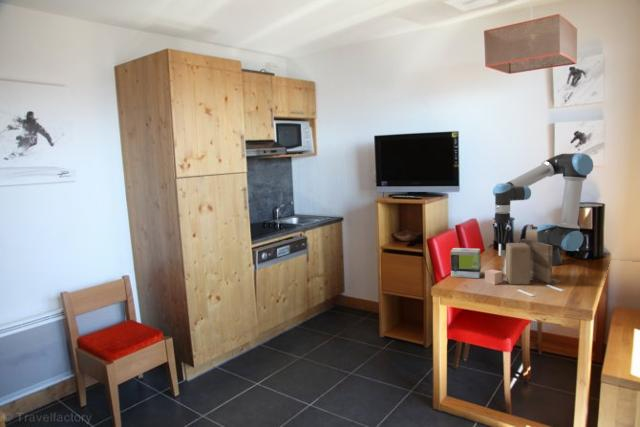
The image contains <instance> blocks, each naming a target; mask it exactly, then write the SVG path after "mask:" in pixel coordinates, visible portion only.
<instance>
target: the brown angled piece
mask: <svg viewBox="0 0 640 427" xmlns="http://www.w3.org/2000/svg"><path fill="white" fill-rule="evenodd" d="M519 243H526V244H527V245H528V246H530V280H532V279H533V281H535V282H539V283H542V284H543V285H555V284H560V283H561V280H559V279H556V278H553V265H552V247H553V246H552V245H548V244H544V243H539V242H537V241H534V240H532V239H531V240H530V239H527V238H520V239H519Z"/></svg>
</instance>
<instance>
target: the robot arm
mask: <svg viewBox="0 0 640 427" xmlns="http://www.w3.org/2000/svg"><path fill="white" fill-rule="evenodd" d="M593 170H594V160H593V159H592V157H591V156H590V155H588V154H586V153H580V152H578V153H574V152H573V153H559V154H557V155H555V156H552V157H550V158H548V159H546V160H544V161H542V162H541V164H540V165H538V166H537V167H534V168H533V169H530V170H528V171H526V172H525V173H522V174H520V175H519V176H517V177H515V178H514V179H511V180H509V181H507V182H505V183H496V185H495V186H494V187H493V189H492V194H493V196H494V198H495V199H494V201H495V202H494V203H495V204H494V206H495V208H494V211H495V213H494V219H495V220H496V221H495V223H492V227H493V232H494V238H495V239H494V240H495V242H496V243H498V245H497V247H498V248H497V249H498V256H500V257H501V256H502V257H506V244H507V243H510V237H511V233H512V230H513V226H510V222H509V220H511V202H513V201H527V200H529V199H530V198H531V196H532V190H531V188H530V186H531V185H533V184H536V183H537V182H540V181H541V180H543V179H545V178H547V177H550V178H551V177H553V176H555V175H562V178H563V179H564V189H563V196H562V203H561V212H560V220H559V222H558V223H548V224H546V223H545V224H540V225H538V226H537V228H536V229H537V230H536V242H539V243H544V244H548V245H552V246H553V247H552V266H560V265H562V264H563V259H562V257H561V253H560V249H561V250H564V251H570V252H574V251H575V252H576V251H577V250H578V249H579V248H580V247H581V246H582V245H583V242H584V235H583V233H582V232H581V231H580V230H581V227H580V226H579V225H578V221H579V220H578V219H579V214H580V207H581V206H580V204H581V199H582V190H583V183H584V181H585V180H587V179H588V178H587V177H588V175H589V174H591V172H592V171H593Z"/></svg>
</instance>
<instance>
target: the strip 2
mask: <svg viewBox="0 0 640 427" xmlns="http://www.w3.org/2000/svg"><path fill="white" fill-rule="evenodd" d="M545 287H548V288H551V289H554V290H557V291H559V292H565V290H564V289H562V288H559V287H556V286H553V285H552V284H550V285H547V284H545Z"/></svg>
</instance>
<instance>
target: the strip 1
mask: <svg viewBox="0 0 640 427" xmlns="http://www.w3.org/2000/svg"><path fill="white" fill-rule="evenodd" d="M516 291H517V292H520V293H522V294H525V295H527V296H529V297H535V294H532V293H530V292H527V291H524V290H522V289H520V288H518V289H516Z"/></svg>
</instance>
